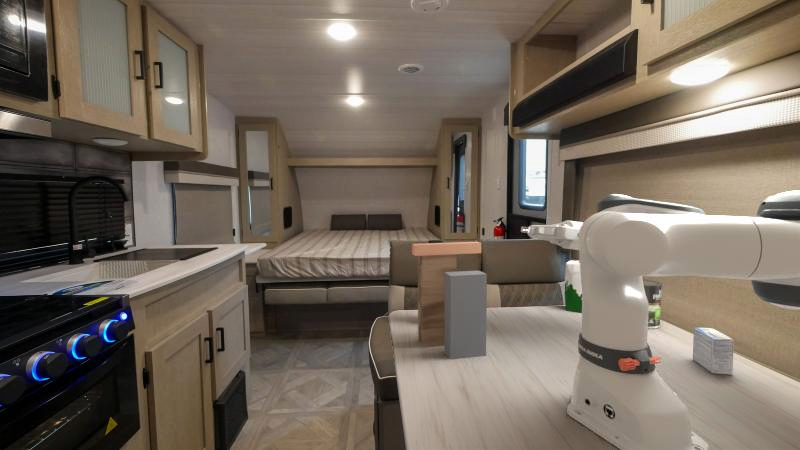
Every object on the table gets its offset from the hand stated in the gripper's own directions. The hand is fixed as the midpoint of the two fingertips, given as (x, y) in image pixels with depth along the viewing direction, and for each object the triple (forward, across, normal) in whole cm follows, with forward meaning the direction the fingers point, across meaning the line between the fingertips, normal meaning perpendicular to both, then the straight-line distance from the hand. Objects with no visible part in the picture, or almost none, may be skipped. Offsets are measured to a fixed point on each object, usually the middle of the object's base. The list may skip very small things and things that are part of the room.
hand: (529, 229), depth 111 cm
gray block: (+20, -10, -36) cm, 42 cm away
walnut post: (+25, -1, -36) cm, 44 cm away
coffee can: (-45, +3, -26) cm, 52 cm away
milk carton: (-34, +20, -27) cm, 48 cm away
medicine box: (-37, -28, -29) cm, 55 cm away
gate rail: (+26, -2, -10) cm, 28 cm away
